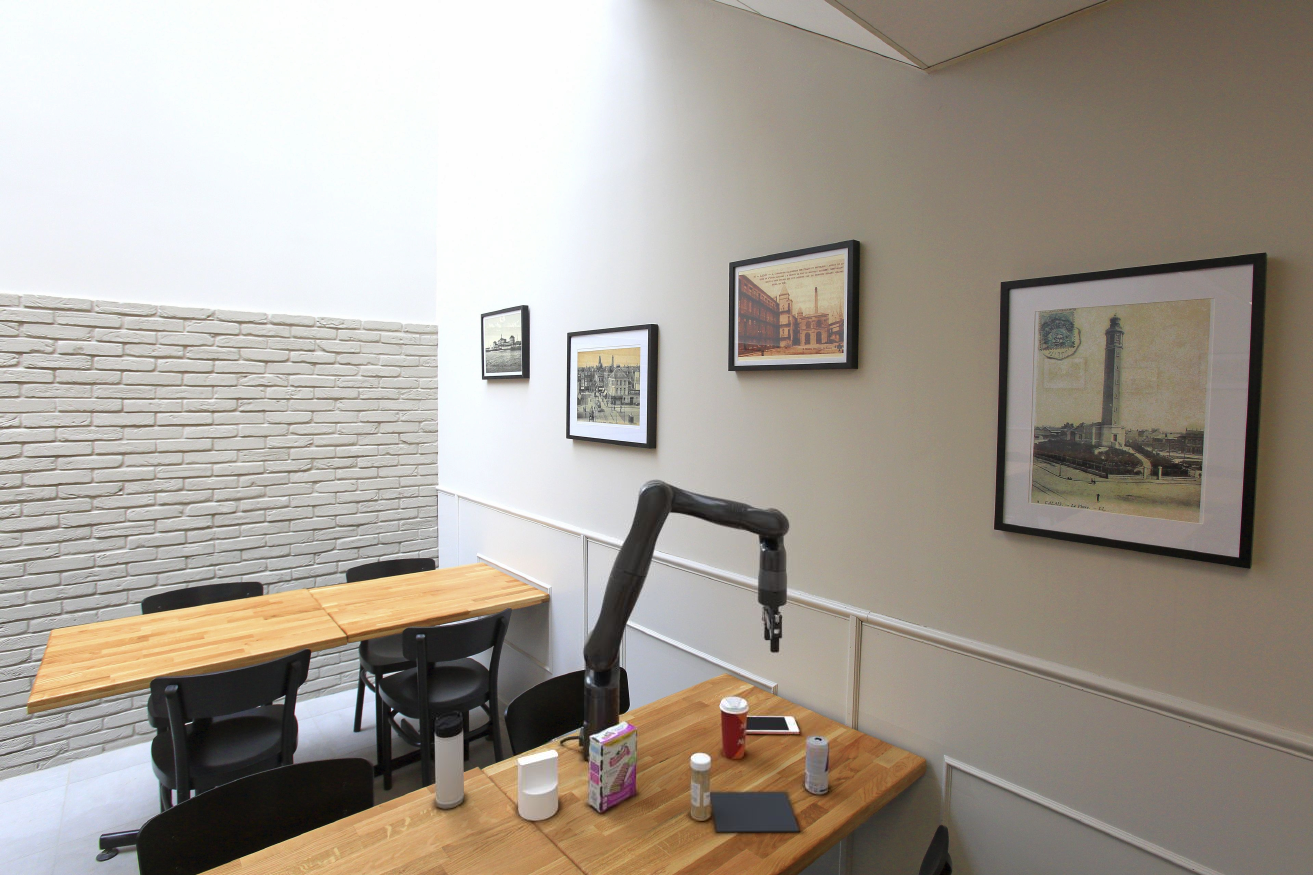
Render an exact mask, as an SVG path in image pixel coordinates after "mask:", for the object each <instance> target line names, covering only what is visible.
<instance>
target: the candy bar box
mask: <svg viewBox="0 0 1313 875" xmlns="http://www.w3.org/2000/svg"><path fill="white" fill-rule="evenodd" d="M637 754H638V727H637V726H635V725H632V724H630V723H629V722H626V721H625V720H623V721H622V722H619V724H617V725H615V726H613V727H610V728H608V729H606V730H603V731H601V732H599V733H596V734H594V735H592V736H589V760H588V795H587V796H588V797H587V798H588V806H590V807H591V808H593V809H594V810H596V812H598V813H600V814H602V813H604V812H606V811H607V810H610V809H611V808H613V807H615V806H617V805H618V804H620V803H621V802H624V801H626V800H627V799H629V798H630V797H632V796H634V795H636V794H637V756H638V755H637Z"/></svg>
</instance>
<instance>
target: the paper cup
mask: <svg viewBox="0 0 1313 875" xmlns="http://www.w3.org/2000/svg"><path fill="white" fill-rule="evenodd" d="M749 709H750V707H749V704H748V701H747V700H746V699H744V698H743V697H740V696H727V697H724V698H722V700H721V701H720V703H719V710H720V719H721V720H720V721H721V722H720V723H721V724H720V725H721V742H722V743H721V744H722V754H723V756H724V757H725V758H726V759H727V758H728V759H730V760H740V759H742V758H743V757H744V755H745V748H746V737H747V736H746V735H747V734H746V723H747V716H748V711H749Z"/></svg>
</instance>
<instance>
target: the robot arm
mask: <svg viewBox="0 0 1313 875" xmlns="http://www.w3.org/2000/svg"><path fill="white" fill-rule="evenodd" d="M670 514H679V515H683V516H684V515H685V516H689V517H693V518H696V519H698V520H699V519H700V520H702V521H705V522H708V523H710V524H714V525H717V526H720V527H725V528H729V529H734V530H738V531H739V530H740V531H745V532H749V533H751V534H754V535H757V536H758V543H759V558H758V560H759V561H758V575H757V603H759V605H762V614H761V620H762V622H763V623H762V624H763V638H764V641H769V651H770V652H771V653H773V654H776V653H777V654H778V653H780V639H782V638H783V615H782V612H781V611H780V610H779V609H780V608H781V607H783V606H785V605H787V603H788V572H787V550H786V547H785V536H786V535H787V534H788V532H789V530H790V520H789V519H788V517H787V516H786V514H784V513H783V512H782V511H780V510H779V509H777V508H774V507H768V508H766V509H763V508H758V507H755V506H752V505H750V504H748V503H745V502H740V501H736V500H731V499H726V498H720V497H715V496H710V495H705V494H701V493H697V492H693V491H689V490H686V489H683V488H680V487H677V486H675V485H672V484H670V483H668V482H665V481H664V480H661V479H651V480H648V481H646V482H644V484H643V485H641V487H640V489H639V490H638V498H637V504H636V509H635V513H634V516H633V520H632V524H631V527H630V529H629V532H628V534H627V536H626V538H625V540H624V541H623V543H622V545H621V547H620V549H619V550H618V553H617V554H616V557H615V559H614V561H613V565H612V567H611V569H610V573H609V575H608V579H607V583H606V585H605V586H606V587H605V590H604V594H603V598H602V603H601V608H600V613H599V615H598V619H597V621H596V623H595V625H594V627H593V629H592V630H591V631H590V632H589V633H588V634H587V636H586V637H585V640H584V645H583V650H582V651H583V652H582V656H583V660H584V665H585V666H584V680H583V681H584V682H583V687H584V688H583V691H584V692H583V703H584V704H583V706H584V707H583V710H584V711H583V712H584V713H583V716H584V718H583V719H584V720H583V723H582V724H583V725H582V726H583V727H580V730H579V735H571V736H567V737H564V738H563V739H561V740H559V744H560V745H563V744H564V743H565V742H569V741H574V740H578V747H579V748H580V747H581V748H582V749H583V750H582V751H583V752H582V753H583V754H582V755H583V761H584V760H585V761H589V736H592V735H594V734H596V733H599V732H601V731H603V730H606V729H608V728H610V727H613V726H615V725H617V724H620V680H621V679H620V677H621V668H620V667H621V644H622V640H623V636H624V633H625V630H626V627H627V625H628V622H629V620H630V617H631V615H632V613H633V611H634V608H635V607H636V605H637V602H638V600H639V598H640V595H641V593H642V590H643V589H644V585H645V582H646V580H647V577H648V574H649V570H650V568H651V565H652V560H653V557H654V555H655V554H654V553H655V549H656V546H657V541H658V538H659V536H660V533H661V531H662V529H663V527H664V525H665V523H666V521H667V519H668V516H669V515H670ZM775 630H776V633H775Z"/></svg>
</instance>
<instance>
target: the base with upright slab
mask: <svg viewBox="0 0 1313 875" xmlns="http://www.w3.org/2000/svg"><path fill="white" fill-rule="evenodd" d="M517 786H518V787H517V789H518V790H517V803H518V804H517V805H518V806H517V810H518V811H517V812H518V814H519V815H520V818H523V819H525V820H527V821H536V822H537V821H544V820H547V819H549V818H551V817H552V816H554V815H555V814H556V813H557V811H558V809H559V754H558V752H557V751H556V750H555V749H551V750H546V751H544V752H543V751H542V752H538V753H535V754H531V755H527V756H523V757H519V758H517Z"/></svg>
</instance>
